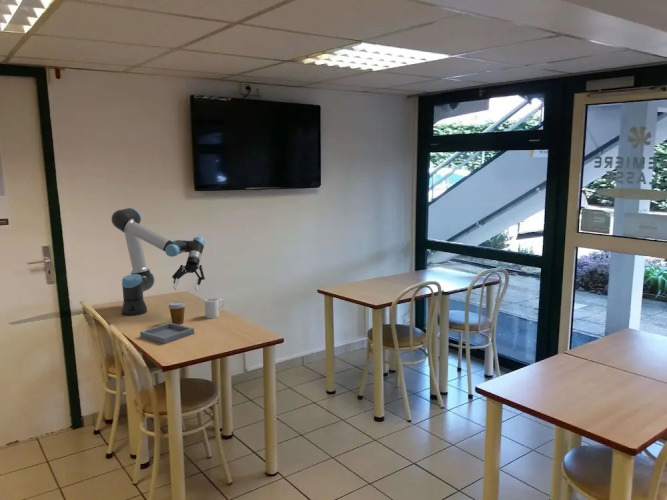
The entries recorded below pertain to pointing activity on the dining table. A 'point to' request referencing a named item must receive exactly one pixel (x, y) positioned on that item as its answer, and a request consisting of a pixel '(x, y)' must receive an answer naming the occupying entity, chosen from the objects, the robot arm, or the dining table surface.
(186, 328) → the slate tray
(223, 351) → the dining table surface
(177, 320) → the disposable coffee cup
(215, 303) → the mug
